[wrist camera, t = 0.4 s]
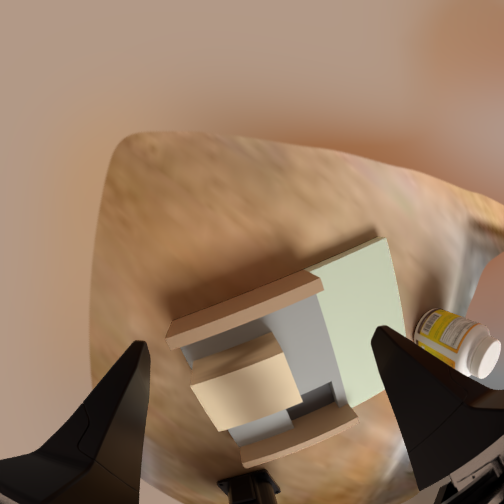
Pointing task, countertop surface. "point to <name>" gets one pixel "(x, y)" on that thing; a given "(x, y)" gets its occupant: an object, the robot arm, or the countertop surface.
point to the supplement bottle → (458, 342)
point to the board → (306, 344)
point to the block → (244, 383)
